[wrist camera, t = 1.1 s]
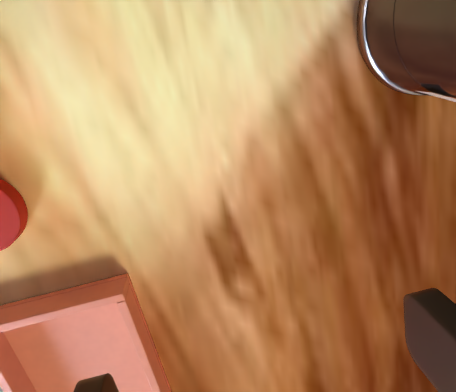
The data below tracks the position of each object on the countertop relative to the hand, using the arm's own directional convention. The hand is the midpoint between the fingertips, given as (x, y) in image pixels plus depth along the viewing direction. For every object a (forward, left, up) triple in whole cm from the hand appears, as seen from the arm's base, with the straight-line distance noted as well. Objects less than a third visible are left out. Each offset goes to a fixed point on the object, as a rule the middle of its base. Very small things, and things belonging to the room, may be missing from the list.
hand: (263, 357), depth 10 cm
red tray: (+15, -13, -16) cm, 25 cm away
